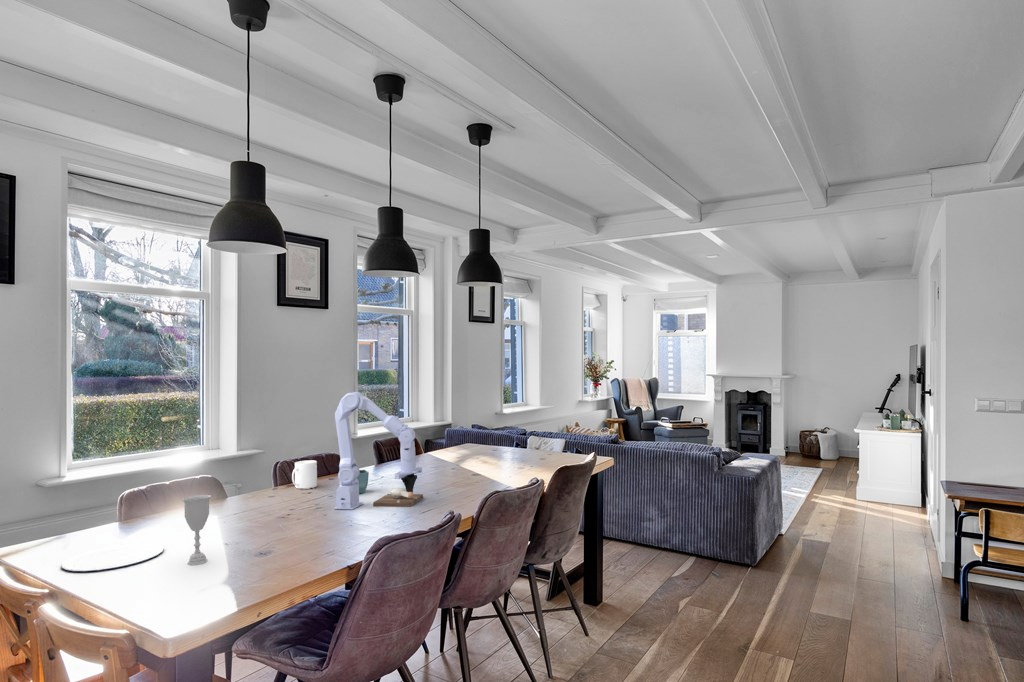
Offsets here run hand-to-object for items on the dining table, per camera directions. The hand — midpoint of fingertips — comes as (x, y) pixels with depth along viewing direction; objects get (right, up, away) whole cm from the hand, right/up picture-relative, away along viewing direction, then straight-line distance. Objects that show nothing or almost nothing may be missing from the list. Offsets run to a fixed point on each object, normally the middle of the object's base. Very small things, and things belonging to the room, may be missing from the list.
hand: (409, 494), depth 234 cm
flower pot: (-27, -6, +24) cm, 36 cm away
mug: (-54, -7, +37) cm, 66 cm away
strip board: (-5, -4, +4) cm, 8 cm away
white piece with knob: (-3, -1, +1) cm, 3 cm away
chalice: (-49, -3, -64) cm, 81 cm away
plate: (-76, -4, -58) cm, 96 cm away
